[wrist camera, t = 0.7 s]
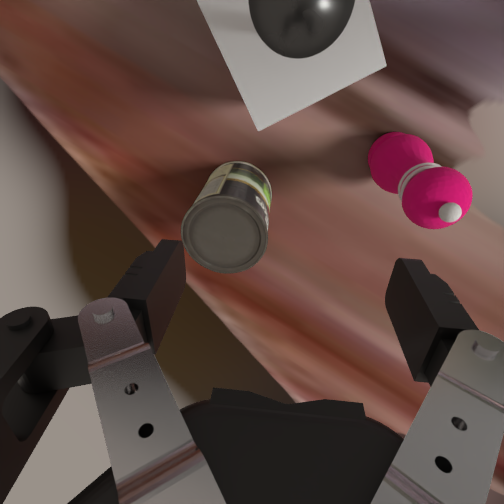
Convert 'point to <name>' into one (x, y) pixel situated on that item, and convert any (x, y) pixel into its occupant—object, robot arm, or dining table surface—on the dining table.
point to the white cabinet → (290, 61)
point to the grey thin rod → (300, 24)
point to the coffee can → (229, 219)
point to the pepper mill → (419, 180)
